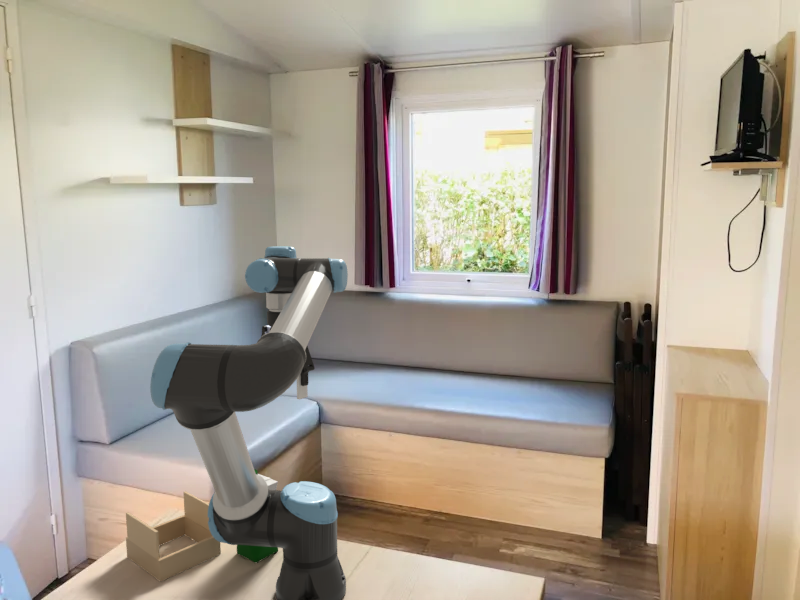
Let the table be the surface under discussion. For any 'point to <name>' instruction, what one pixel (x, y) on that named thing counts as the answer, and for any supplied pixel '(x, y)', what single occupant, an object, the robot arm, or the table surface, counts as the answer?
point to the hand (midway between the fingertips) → (284, 392)
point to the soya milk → (258, 551)
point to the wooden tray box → (192, 524)
